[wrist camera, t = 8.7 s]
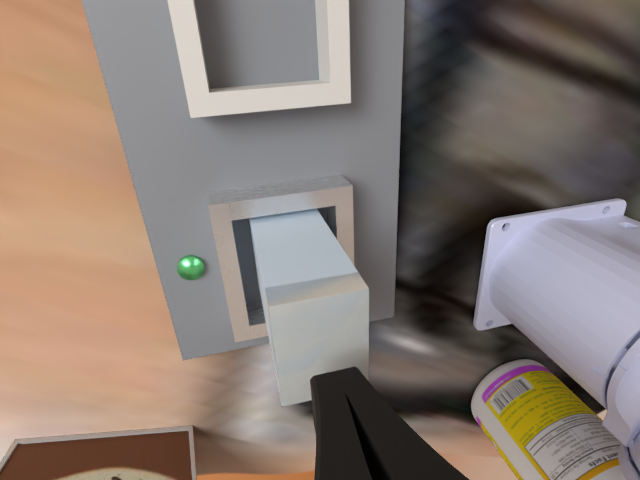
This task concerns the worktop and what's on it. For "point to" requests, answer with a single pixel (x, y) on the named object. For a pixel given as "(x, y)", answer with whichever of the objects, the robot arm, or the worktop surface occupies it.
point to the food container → (104, 456)
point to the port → (262, 203)
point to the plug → (309, 301)
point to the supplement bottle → (543, 426)
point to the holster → (266, 96)
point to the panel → (250, 139)
